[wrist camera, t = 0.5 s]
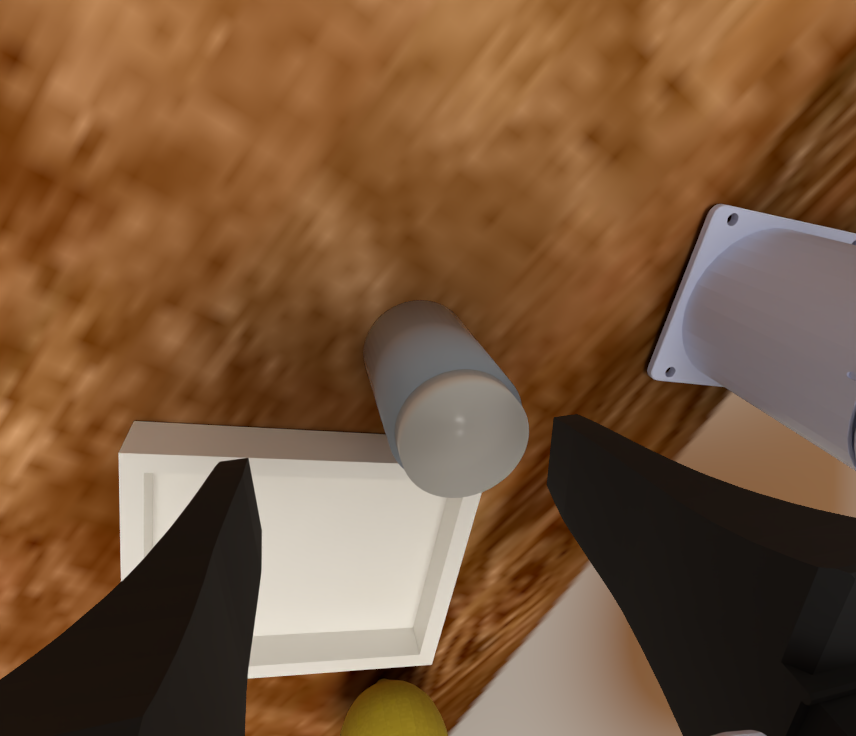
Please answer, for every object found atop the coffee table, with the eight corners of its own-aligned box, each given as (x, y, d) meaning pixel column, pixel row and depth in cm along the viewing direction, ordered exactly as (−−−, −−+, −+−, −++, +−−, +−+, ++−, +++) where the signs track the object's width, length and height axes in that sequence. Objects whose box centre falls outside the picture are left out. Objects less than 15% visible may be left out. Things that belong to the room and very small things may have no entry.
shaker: (478, 307, 22) (552, 383, 16) (454, 402, 24) (513, 504, 18) (372, 293, 21) (409, 371, 15) (355, 394, 23) (382, 502, 16)
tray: (473, 439, 25) (489, 466, 23) (422, 628, 30) (431, 664, 28) (133, 421, 21) (118, 452, 19) (135, 643, 25) (123, 687, 23)
